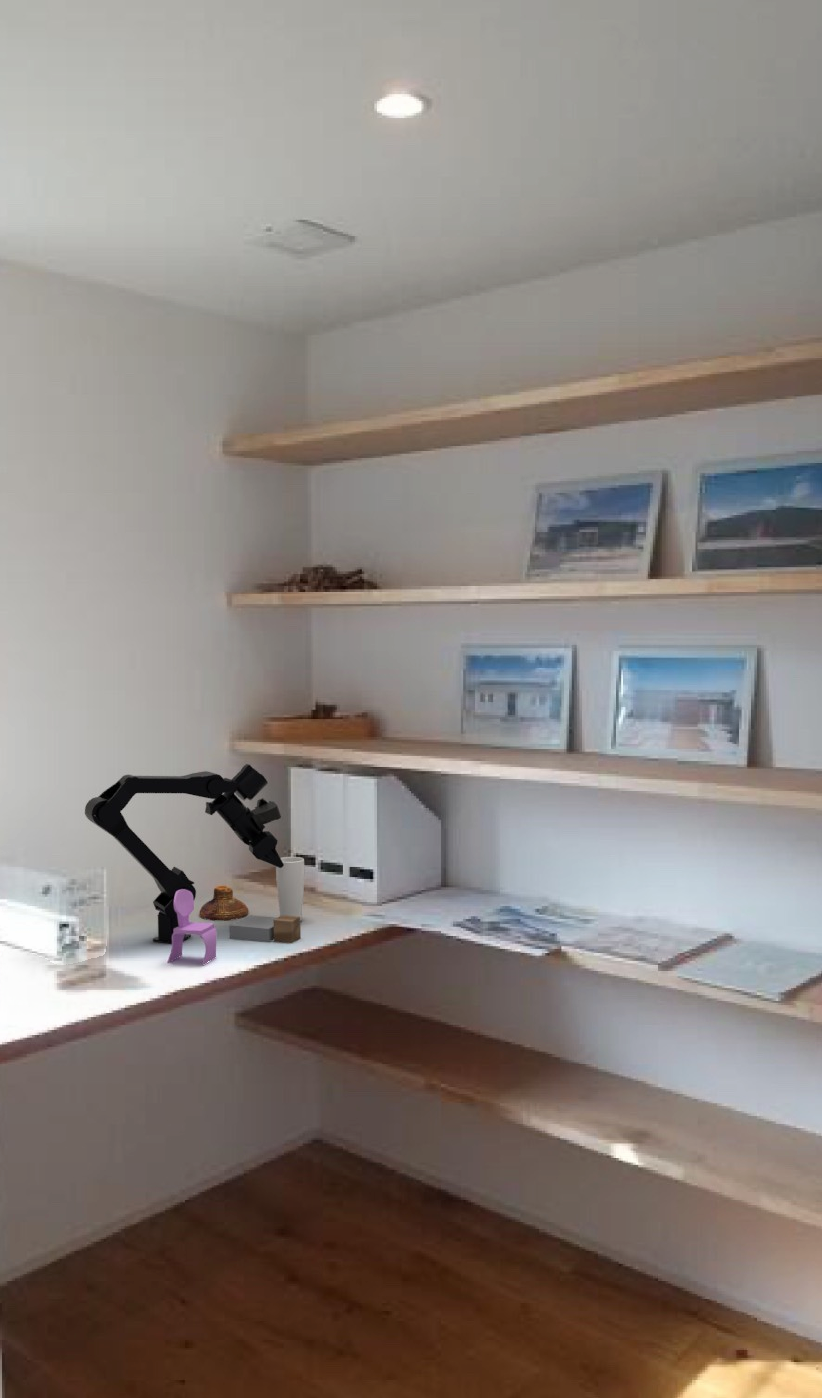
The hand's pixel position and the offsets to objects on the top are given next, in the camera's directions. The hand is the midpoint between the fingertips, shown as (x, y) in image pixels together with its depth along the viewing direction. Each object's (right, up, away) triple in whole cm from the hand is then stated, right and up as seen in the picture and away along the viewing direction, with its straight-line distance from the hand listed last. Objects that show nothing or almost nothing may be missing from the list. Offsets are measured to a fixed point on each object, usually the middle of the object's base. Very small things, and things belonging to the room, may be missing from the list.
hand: (276, 860), depth 277 cm
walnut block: (+4, -16, -13) cm, 21 cm away
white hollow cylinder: (+3, -15, +4) cm, 16 cm away
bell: (-14, -15, +11) cm, 23 cm away
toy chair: (-15, -17, -29) cm, 36 cm away
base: (-3, -16, -8) cm, 18 cm away
